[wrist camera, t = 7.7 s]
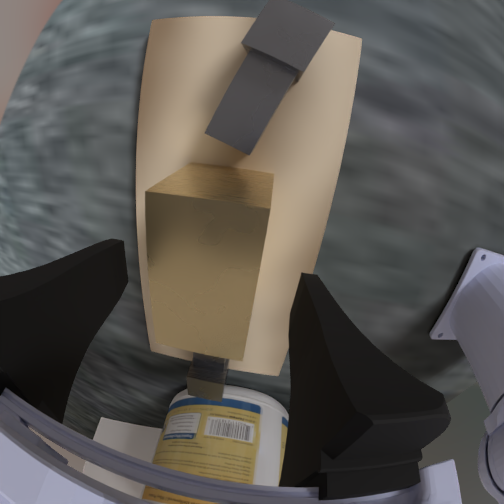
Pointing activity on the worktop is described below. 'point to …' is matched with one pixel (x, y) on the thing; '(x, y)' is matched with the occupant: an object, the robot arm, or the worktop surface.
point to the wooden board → (247, 156)
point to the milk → (128, 442)
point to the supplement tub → (222, 440)
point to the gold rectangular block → (206, 255)
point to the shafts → (258, 117)
